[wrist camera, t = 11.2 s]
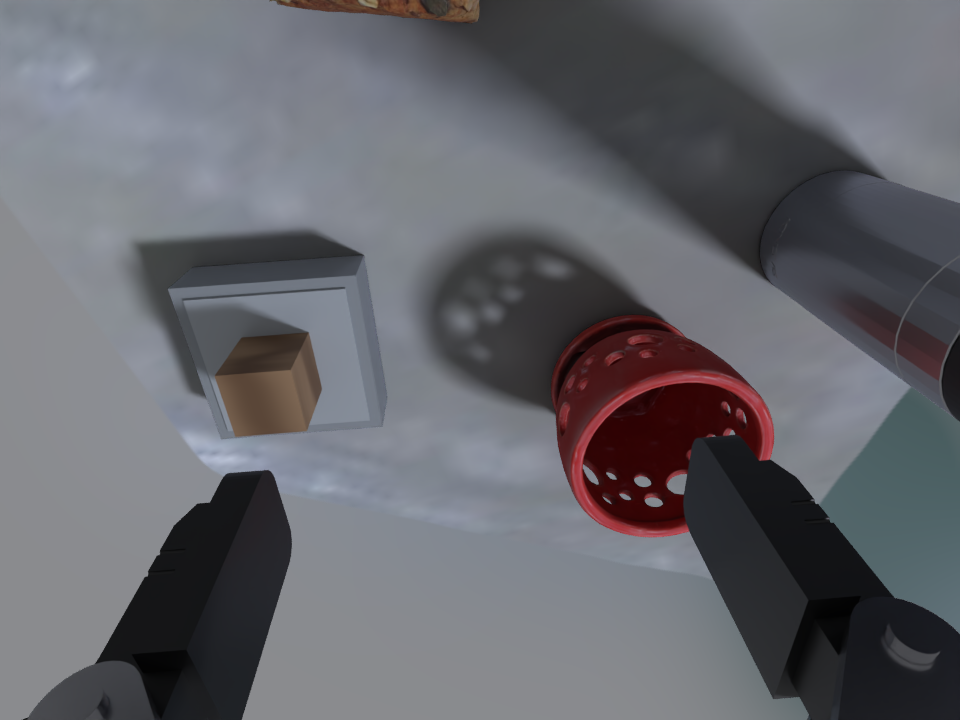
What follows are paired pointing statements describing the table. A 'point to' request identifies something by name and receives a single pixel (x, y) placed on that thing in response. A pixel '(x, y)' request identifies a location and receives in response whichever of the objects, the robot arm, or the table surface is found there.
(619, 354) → the plant pot
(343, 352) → the pedestal
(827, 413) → the table surface
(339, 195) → the table surface
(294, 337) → the walnut cube
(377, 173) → the table surface
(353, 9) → the bread
